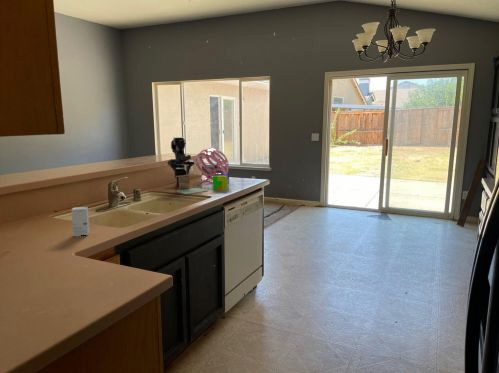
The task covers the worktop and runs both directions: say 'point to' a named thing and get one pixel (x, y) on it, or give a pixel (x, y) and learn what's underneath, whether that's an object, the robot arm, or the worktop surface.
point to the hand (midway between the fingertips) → (182, 174)
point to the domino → (184, 182)
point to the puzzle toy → (221, 182)
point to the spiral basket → (216, 167)
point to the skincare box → (80, 221)
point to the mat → (191, 191)
